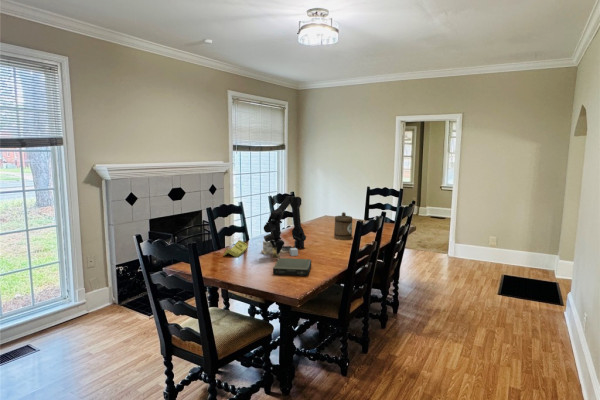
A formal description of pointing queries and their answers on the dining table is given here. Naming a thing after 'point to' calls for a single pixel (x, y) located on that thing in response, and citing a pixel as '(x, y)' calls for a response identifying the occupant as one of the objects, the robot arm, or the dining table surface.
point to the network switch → (292, 267)
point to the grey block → (293, 251)
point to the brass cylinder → (275, 253)
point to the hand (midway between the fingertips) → (276, 252)
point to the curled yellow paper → (237, 249)
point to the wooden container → (343, 227)
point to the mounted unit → (269, 249)
